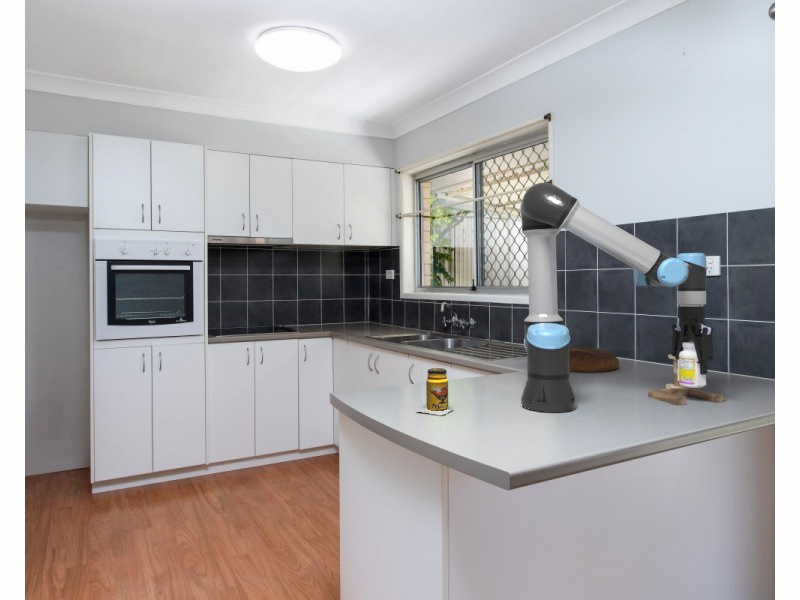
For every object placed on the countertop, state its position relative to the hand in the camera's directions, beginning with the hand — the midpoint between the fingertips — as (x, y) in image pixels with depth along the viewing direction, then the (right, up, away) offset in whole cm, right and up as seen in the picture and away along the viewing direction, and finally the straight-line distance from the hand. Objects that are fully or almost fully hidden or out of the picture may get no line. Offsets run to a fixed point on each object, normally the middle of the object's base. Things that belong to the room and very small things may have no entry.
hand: (691, 382), depth 158 cm
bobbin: (+6, -5, +16) cm, 18 cm away
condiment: (-77, -7, -9) cm, 78 cm away
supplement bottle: (0, -1, 0) cm, 1 cm away
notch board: (-1, -5, +3) cm, 6 cm away
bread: (-10, -4, +62) cm, 63 cm away
